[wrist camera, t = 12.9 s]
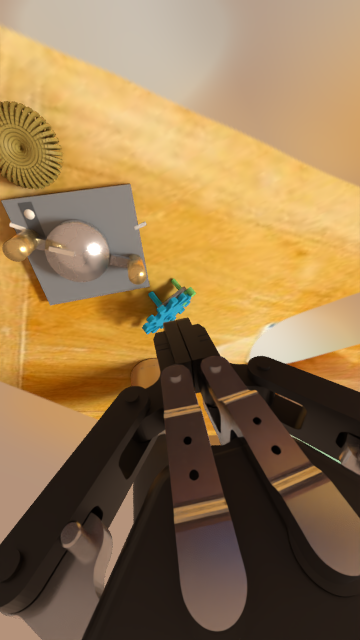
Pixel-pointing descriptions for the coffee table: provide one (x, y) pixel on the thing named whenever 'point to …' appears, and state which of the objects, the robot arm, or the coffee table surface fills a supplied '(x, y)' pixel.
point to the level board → (90, 206)
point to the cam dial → (74, 252)
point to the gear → (168, 307)
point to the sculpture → (27, 147)
